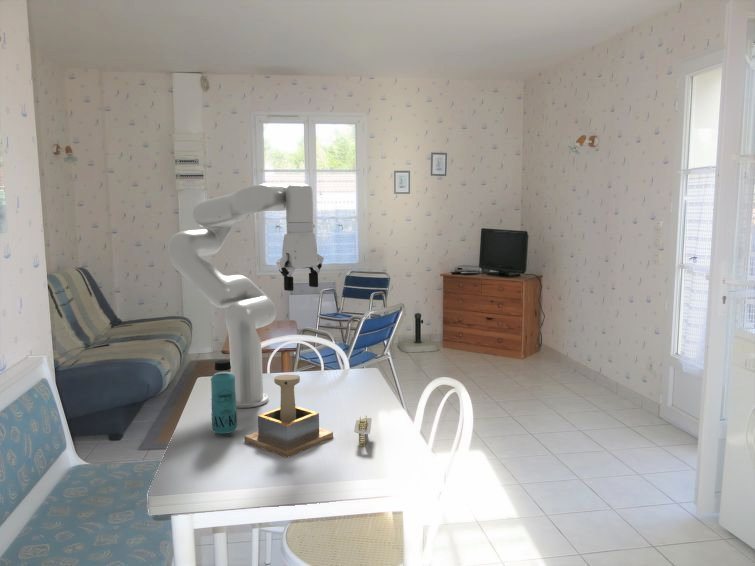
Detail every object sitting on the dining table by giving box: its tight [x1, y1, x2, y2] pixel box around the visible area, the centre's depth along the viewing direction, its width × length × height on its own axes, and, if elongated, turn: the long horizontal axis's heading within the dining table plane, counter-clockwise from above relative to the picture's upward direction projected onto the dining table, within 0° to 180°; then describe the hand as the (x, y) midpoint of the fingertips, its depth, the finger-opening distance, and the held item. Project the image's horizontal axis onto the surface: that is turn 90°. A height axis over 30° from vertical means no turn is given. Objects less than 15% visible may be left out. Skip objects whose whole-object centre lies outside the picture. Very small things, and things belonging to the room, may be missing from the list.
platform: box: [353, 415, 372, 449], centre depth 153 cm, size 12×18×7 cm, turn 178°
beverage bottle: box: [210, 359, 238, 434], centre depth 158 cm, size 6×7×20 cm
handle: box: [273, 374, 301, 423], centre depth 155 cm, size 5×6×15 cm
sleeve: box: [243, 405, 334, 458], centre depth 155 cm, size 16×16×7 cm
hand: (301, 288), depth 173 cm, fingers open, 9 cm apart
